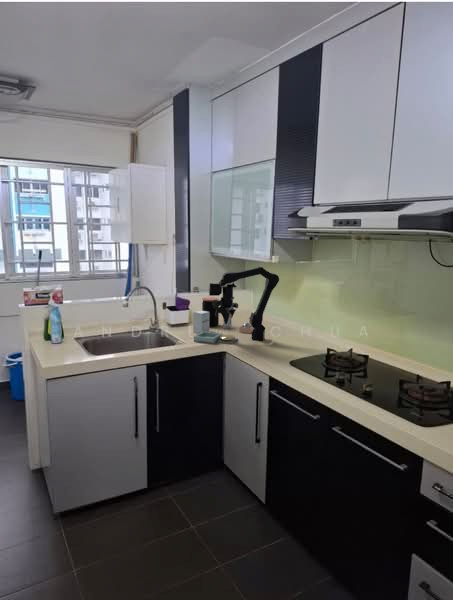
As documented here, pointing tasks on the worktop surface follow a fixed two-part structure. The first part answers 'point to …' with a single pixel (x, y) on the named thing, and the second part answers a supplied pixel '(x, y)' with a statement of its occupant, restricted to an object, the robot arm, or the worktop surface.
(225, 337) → the brass disc
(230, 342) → the checker cradle
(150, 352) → the worktop surface
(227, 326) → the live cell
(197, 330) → the supplement box
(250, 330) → the pink open-ended box
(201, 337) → the teal shallow square tray
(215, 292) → the robot arm
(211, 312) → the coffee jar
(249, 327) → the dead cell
